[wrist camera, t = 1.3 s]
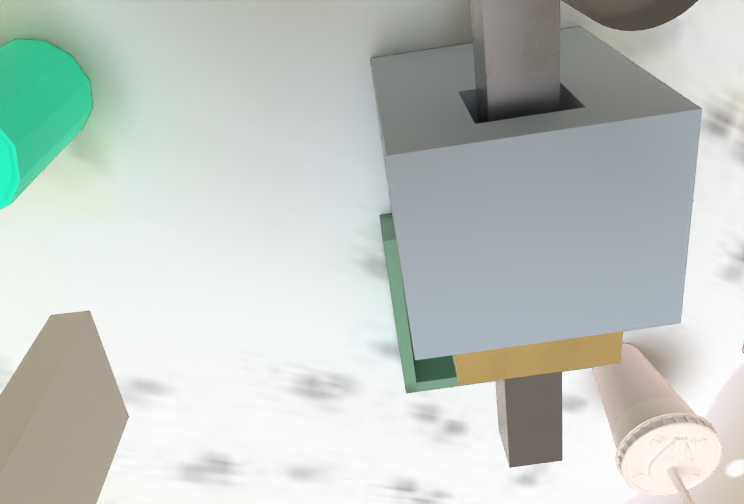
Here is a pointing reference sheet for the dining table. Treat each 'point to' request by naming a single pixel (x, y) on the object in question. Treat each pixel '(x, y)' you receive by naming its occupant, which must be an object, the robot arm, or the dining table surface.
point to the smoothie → (655, 429)
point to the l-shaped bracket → (525, 98)
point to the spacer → (538, 358)
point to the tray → (414, 371)
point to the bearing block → (536, 200)
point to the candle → (37, 110)
